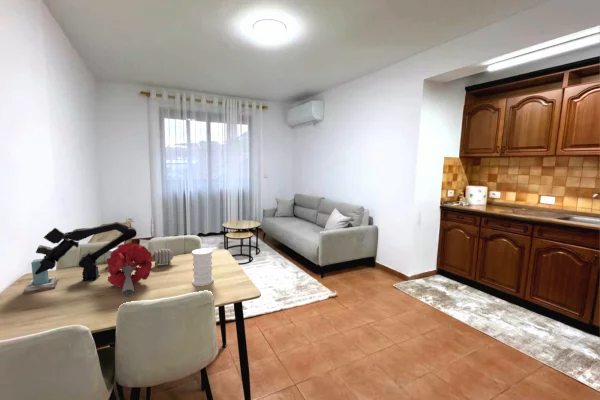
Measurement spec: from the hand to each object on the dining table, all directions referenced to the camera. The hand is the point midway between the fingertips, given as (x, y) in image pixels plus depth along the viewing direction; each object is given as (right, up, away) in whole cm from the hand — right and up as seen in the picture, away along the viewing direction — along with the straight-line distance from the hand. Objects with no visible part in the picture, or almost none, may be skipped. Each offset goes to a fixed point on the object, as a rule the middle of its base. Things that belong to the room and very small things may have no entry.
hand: (36, 272), depth 146 cm
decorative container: (+83, -9, +12) cm, 84 cm away
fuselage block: (+1, -7, +2) cm, 7 cm away
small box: (+18, -5, +36) cm, 40 cm away
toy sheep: (+49, -5, +37) cm, 61 cm away
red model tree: (+46, -9, +4) cm, 47 cm away
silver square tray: (+1, -8, +2) cm, 8 cm away
